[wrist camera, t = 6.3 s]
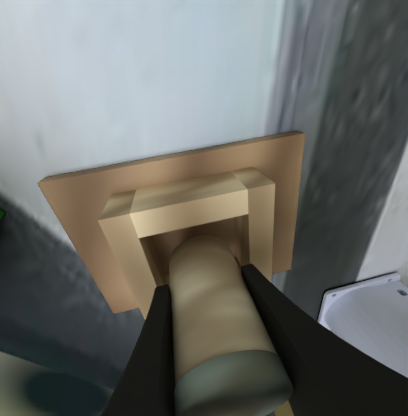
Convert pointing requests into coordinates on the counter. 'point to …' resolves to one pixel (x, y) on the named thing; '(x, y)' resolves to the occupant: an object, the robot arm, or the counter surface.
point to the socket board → (180, 212)
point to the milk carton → (1, 214)
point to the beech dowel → (220, 337)
